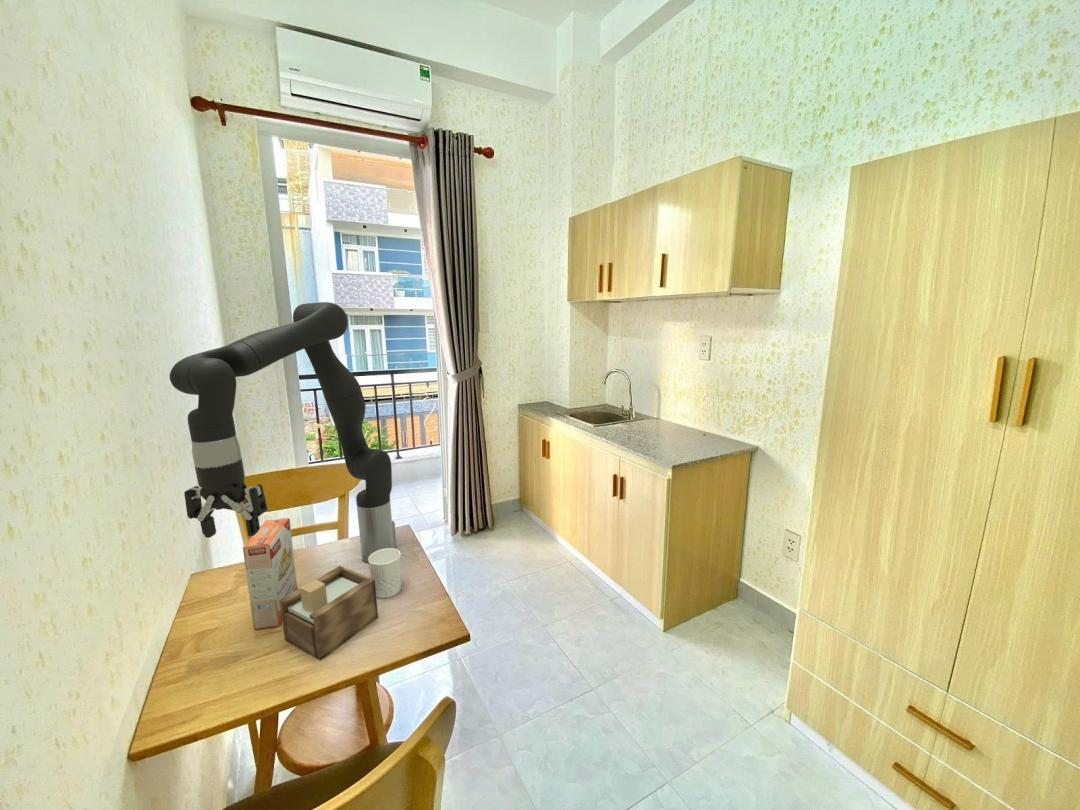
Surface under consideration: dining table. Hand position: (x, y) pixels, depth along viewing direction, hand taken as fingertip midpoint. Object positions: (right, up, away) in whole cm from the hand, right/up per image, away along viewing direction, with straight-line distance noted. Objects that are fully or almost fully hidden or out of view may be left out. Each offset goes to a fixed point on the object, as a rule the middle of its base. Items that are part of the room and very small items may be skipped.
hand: (232, 535), depth 88 cm
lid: (+15, -18, +10) cm, 25 cm away
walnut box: (+15, -25, +11) cm, 31 cm away
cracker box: (-2, -24, +18) cm, 30 cm away
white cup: (+23, -22, +25) cm, 41 cm away
